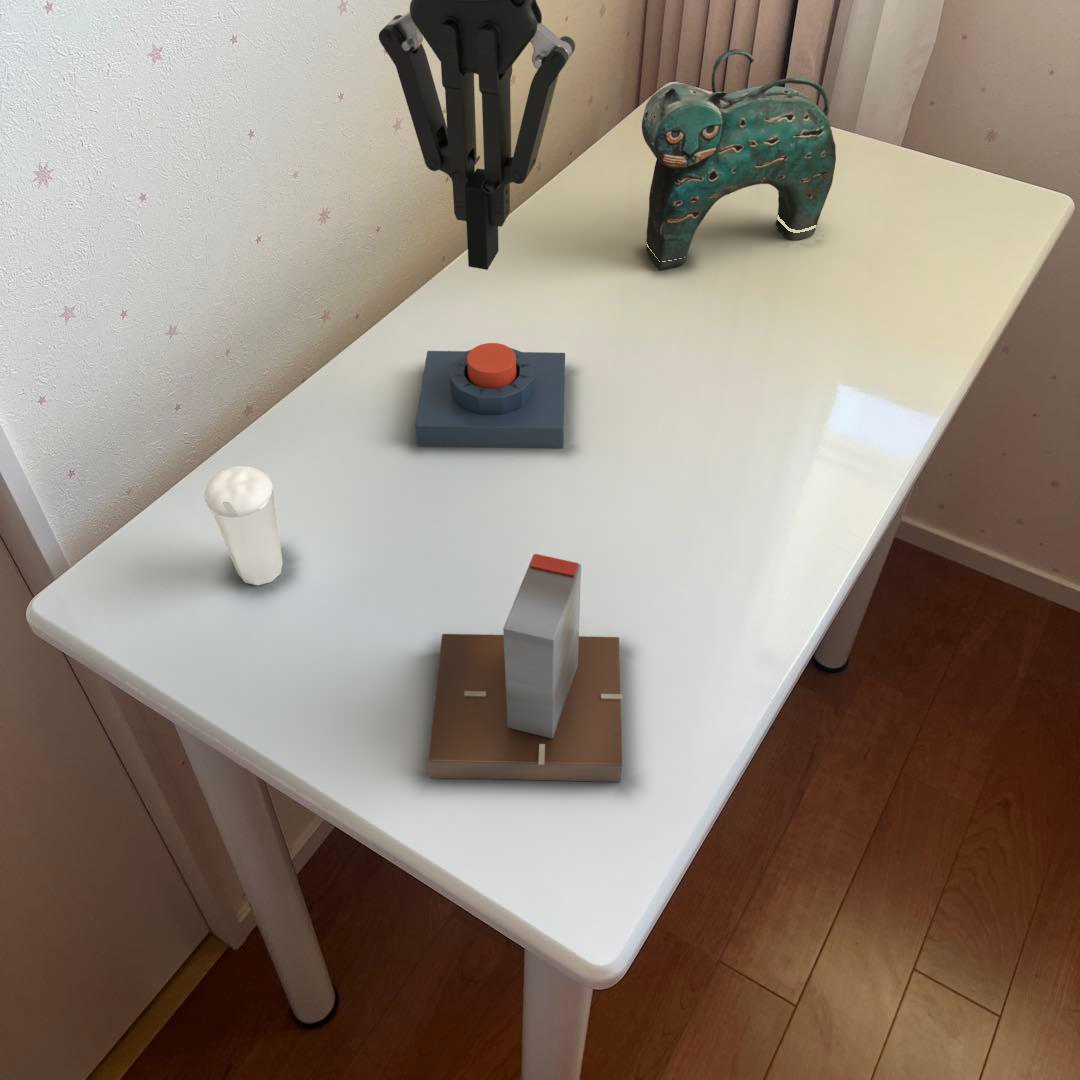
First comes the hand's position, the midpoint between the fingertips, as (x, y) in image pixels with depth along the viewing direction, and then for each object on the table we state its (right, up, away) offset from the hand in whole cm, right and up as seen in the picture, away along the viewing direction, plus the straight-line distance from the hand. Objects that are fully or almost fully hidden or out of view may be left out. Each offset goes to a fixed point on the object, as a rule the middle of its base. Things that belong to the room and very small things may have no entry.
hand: (483, 258), depth 83 cm
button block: (0, -10, +11) cm, 15 cm away
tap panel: (+3, -33, -10) cm, 34 cm away
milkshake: (-16, -24, -2) cm, 29 cm away
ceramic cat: (+23, +8, +28) cm, 37 cm away
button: (0, -8, +8) cm, 11 cm away
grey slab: (+4, -31, -12) cm, 34 cm away
